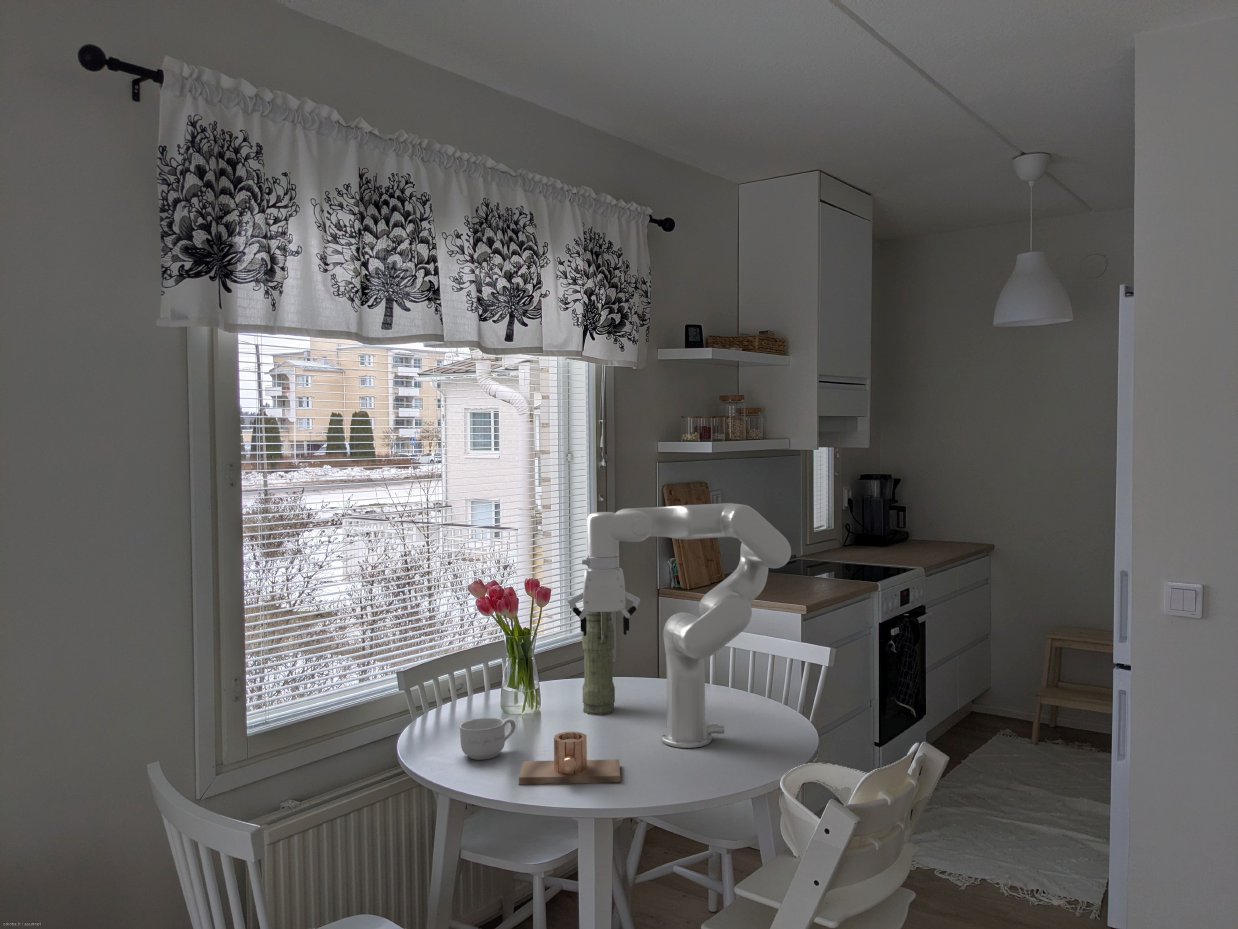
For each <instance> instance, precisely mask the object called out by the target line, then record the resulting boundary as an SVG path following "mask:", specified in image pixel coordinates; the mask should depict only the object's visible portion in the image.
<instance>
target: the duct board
mask: <svg viewBox="0 0 1238 929" xmlns="http://www.w3.org/2000/svg"><path fill="white" fill-rule="evenodd" d="M574 740H576V739H565V741H574ZM620 770H621V769H620V759H587V769H586V770H585V771H583V772H581V773H577V774H562V773H559V772H557V771H555V770H554V760H523V761H522V764H521V769H520V771H519V774H518V775H519V776H518V785H546V784H545V783H569V784H609V782H620V783H621V771H620Z"/></svg>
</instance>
